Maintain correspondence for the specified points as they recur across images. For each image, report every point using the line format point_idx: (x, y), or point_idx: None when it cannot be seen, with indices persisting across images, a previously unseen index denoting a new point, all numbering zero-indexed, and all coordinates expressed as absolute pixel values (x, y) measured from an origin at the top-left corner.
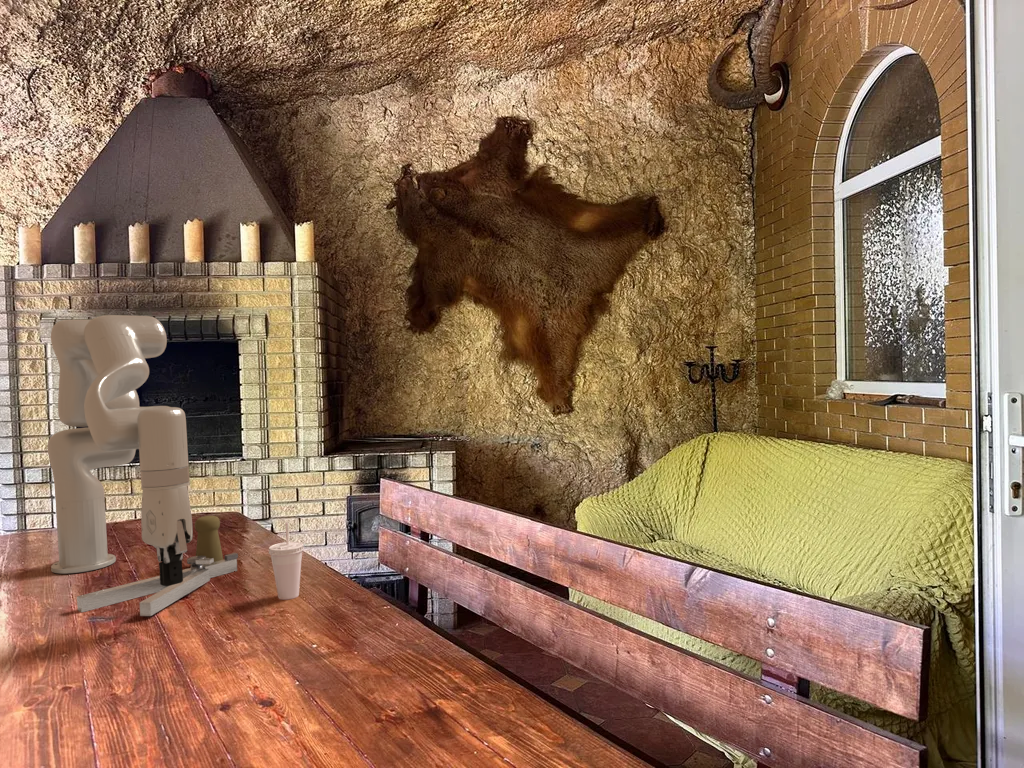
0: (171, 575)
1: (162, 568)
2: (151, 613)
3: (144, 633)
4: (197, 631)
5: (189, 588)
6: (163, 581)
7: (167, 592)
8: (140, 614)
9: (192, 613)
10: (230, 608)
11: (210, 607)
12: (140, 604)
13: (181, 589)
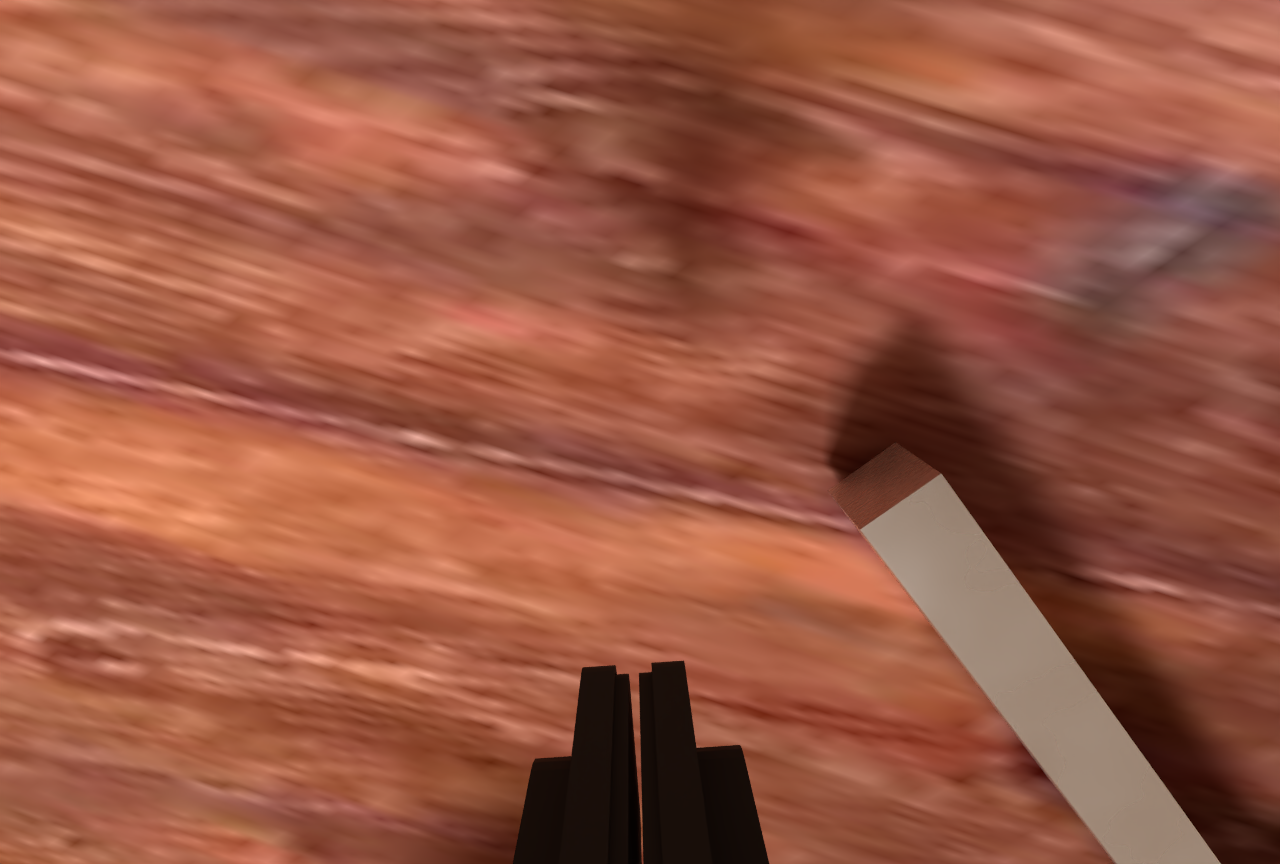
0: (529, 809)
1: (586, 830)
2: (835, 500)
3: (563, 356)
4: (331, 582)
5: (1092, 834)
6: (592, 695)
7: (992, 697)
8: (897, 446)
9: (690, 680)
10: None
11: None
12: (928, 473)
13: (1060, 791)
